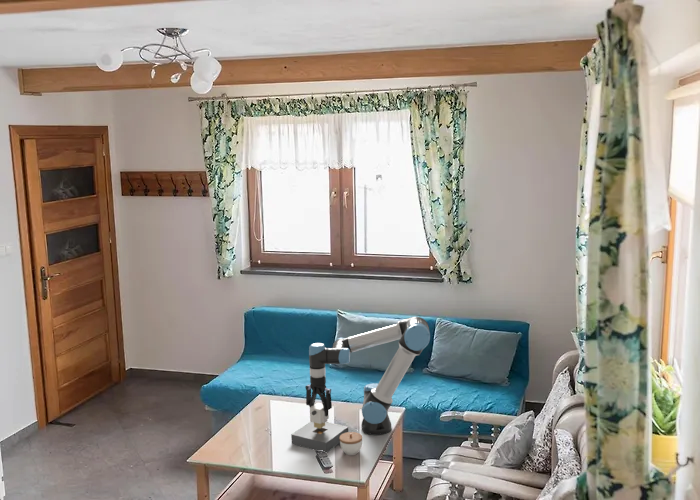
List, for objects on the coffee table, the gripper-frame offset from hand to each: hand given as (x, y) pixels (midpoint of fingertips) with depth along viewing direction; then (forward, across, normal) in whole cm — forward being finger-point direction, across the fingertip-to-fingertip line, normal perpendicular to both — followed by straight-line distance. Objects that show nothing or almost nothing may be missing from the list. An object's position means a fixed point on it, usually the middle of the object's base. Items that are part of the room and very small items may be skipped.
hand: (319, 420), depth 337 cm
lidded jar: (+10, -20, +4) cm, 23 cm away
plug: (+3, 0, 0) cm, 3 cm away
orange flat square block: (+8, 0, 0) cm, 8 cm away
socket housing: (+10, 0, 0) cm, 10 cm away
